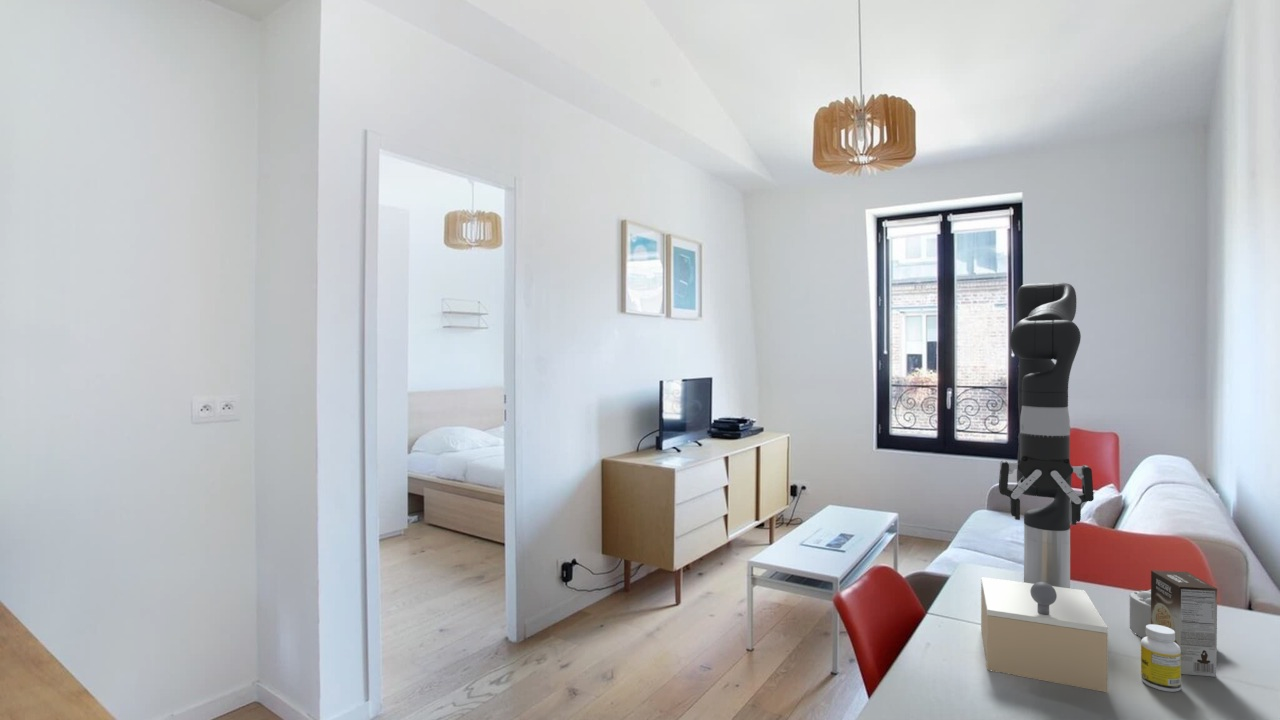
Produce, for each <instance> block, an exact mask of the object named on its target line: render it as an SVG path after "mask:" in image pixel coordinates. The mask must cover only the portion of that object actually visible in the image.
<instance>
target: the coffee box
mask: <svg viewBox="0 0 1280 720" xmlns="http://www.w3.org/2000/svg"><path fill="white" fill-rule="evenodd" d="M1150 590H1151V624H1155V625H1161V626H1165V627H1168V628H1170V629H1172V630H1174V631H1175V641H1174V642H1175V643H1176V644H1178V646H1179V647H1180V650H1181V675H1188V676H1189V675H1191V676H1202V677H1211V678H1212V677H1213V678H1214V677H1215V678H1217V657H1218V655H1217V654H1218V653H1217V645H1218V644H1217V642H1218V641H1217V639H1218V638H1217V637H1218V636H1217V635H1218V588H1216V587H1215V586H1213V585H1211V584H1209V583H1207V582H1206V581H1204V580H1203V579H1200V578H1198V577H1197V576H1195V575H1193V574H1192V573H1189V572H1188V571H1175V570H1174V571H1172V570H1153V569H1152V570H1150Z"/></svg>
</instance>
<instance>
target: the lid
mask: <svg viewBox="0 0 1280 720" xmlns="http://www.w3.org/2000/svg"><path fill="white" fill-rule="evenodd" d="M980 582H981V583H982V588H983V594H984V599H985V605H986V610H987V615H990V616H997V617H1003V618H1010V619H1016V620H1023V621H1030V622H1036V623H1043V624H1050V625H1056V626H1063V627H1069V628H1076V629H1083V630H1089V631H1096V632H1103V633H1107V634H1109V633H1108V626H1107V624H1106V623H1105V621H1104V619H1103V618H1102V616H1101V615H1100V613H1099V611H1098V610H1097V608H1096V606H1095V605H1094V603H1093V601H1092V600H1091V598H1090V597H1089V595H1088V594H1087V592H1086V590H1084V589H1077V588H1076V589H1075V588H1071V587H1070V588H1063V587H1055V586H1051V585H1050V584H1048V583H1045V582H1037V583H1035V584H1032V583H1024V581H1016V580H1008V579H1001V578H994V577H993V578H992V577H983V576H981V579H980ZM981 583H980V584H981Z"/></svg>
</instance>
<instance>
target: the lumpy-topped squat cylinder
mask: <svg viewBox="0 0 1280 720" xmlns="http://www.w3.org/2000/svg"><path fill="white" fill-rule="evenodd" d="M1149 624H1151V589H1148V590H1137V591H1132V592H1130V593H1129V630H1130V629H1131V630H1132V631H1133V632H1134V633H1133V632H1132V631H1131V630H1130V631H1131V632H1132V633H1133V634H1135V633H1136V634H1137V635H1138V636H1137V635H1136V634H1135V635H1136V636H1137V637H1139V636H1140V637H1139V638H1141V637H1142V638H1141V639H1143V638H1144V637H1147V635H1146V625H1149Z"/></svg>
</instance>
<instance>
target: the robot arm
mask: <svg viewBox="0 0 1280 720" xmlns="http://www.w3.org/2000/svg"><path fill="white" fill-rule="evenodd" d="M1015 301H1016V304H1015V307H1016V312H1015V313H1016V324H1015V325H1014V327H1013V328H1012V330H1011V334H1010V336H1009V345H1010V348H1011V351H1012V353H1013V354H1014V355H1015V356H1016V357H1018V381H1017V403H1018V404H1017V405H1018V433H1019V434H1018V450H1017V462H1009V461H1007V460H1001V461H1000V463H999V477H998V479H999V480H998V491H999V494H1000V495H1003V496H1007V497H1008V498H1009V503H1010V504H1009V508H1010V509H1009V512H1010V514H1011V516H1012V517H1014V519H1015V521H1020V520H1021V499H1020V497H1021V495H1025V496H1031V497H1041V498H1049V499H1050V498H1051V499H1054V500H1053V501H1052V502H1051V503H1048V504H1046V505H1045V506H1041V507H1036V508H1031V509H1028V510H1026V511H1025V512H1024V514H1023V582H1024V583H1032V584H1035V583H1037V582H1045V583H1048V584H1050V585H1051V586H1055V587H1063V588H1071V525H1072V526H1077V523H1080V522H1081V520H1082V519H1081V518H1082V517H1081V516H1082V509H1081V506H1082V504H1083V503H1087V502H1093V501H1094V499H1095V498H1094V497H1095V496H1094V485H1093V484H1094V482H1093V470H1092V468H1091V467H1090V466H1089V465H1086V464H1083V465H1080V466H1079V465H1078V466H1074V465H1073V466H1072V464H1071V460H1070V459H1071V458H1070V452H1071V451H1070V450H1071V449H1070V448H1071V447H1070V444H1071V443H1070V442H1071V441H1070V440H1071V439H1070V438H1071V436H1070V435H1071V425H1070V424H1071V422H1070V421H1071V419H1070V415H1069V384H1070V375H1071V370H1072V366H1073V363H1074V361H1075V358H1076V356H1077V352H1078V351H1079V347H1080V344H1081V337H1082V336H1081V330H1080V328H1079V327H1078V325H1077V324H1076V323H1074V321H1073V320H1074V319H1075V317H1076V314H1077V293H1076V289H1075V288H1074V286H1073V285H1072V284H1070V283H1068V282H1042V283H1026V284H1022V285H1021V286H1020V287H1019V288H1018V290H1017V293H1016V299H1015ZM1053 360H1056V361H1055V363H1054V361H1053ZM1015 470H1016V482H1017V483H1016V485H1015V486H1014V487H1012V489H1011V488H1009V487H1008V486H1009V476H1010V475H1012V474H1013V473H1014V471H1015ZM1073 473H1074V474H1076V477H1077V478H1078V479H1080V480H1081V492H1082V493H1078V494H1077V493H1076V491H1075V490H1073V488H1072V478H1073V477H1072V475H1073Z"/></svg>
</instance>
